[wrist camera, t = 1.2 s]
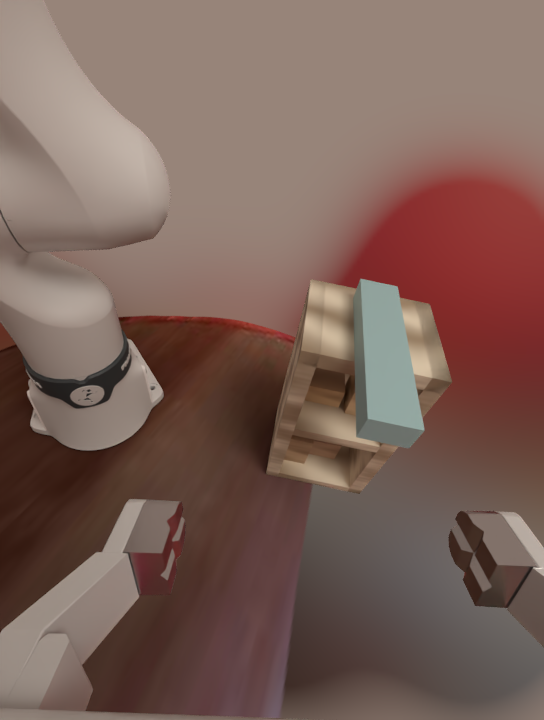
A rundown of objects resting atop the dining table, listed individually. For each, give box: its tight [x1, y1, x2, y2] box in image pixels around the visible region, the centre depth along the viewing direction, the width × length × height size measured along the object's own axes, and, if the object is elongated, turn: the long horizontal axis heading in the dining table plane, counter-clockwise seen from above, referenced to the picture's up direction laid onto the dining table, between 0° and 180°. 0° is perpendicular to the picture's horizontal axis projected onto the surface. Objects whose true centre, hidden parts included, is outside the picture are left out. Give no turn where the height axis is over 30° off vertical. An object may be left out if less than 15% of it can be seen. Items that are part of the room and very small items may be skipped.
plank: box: [353, 279, 424, 448], centre depth 30 cm, size 18×4×2 cm, turn 171°
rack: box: [266, 280, 452, 494], centre depth 44 cm, size 12×14×26 cm
